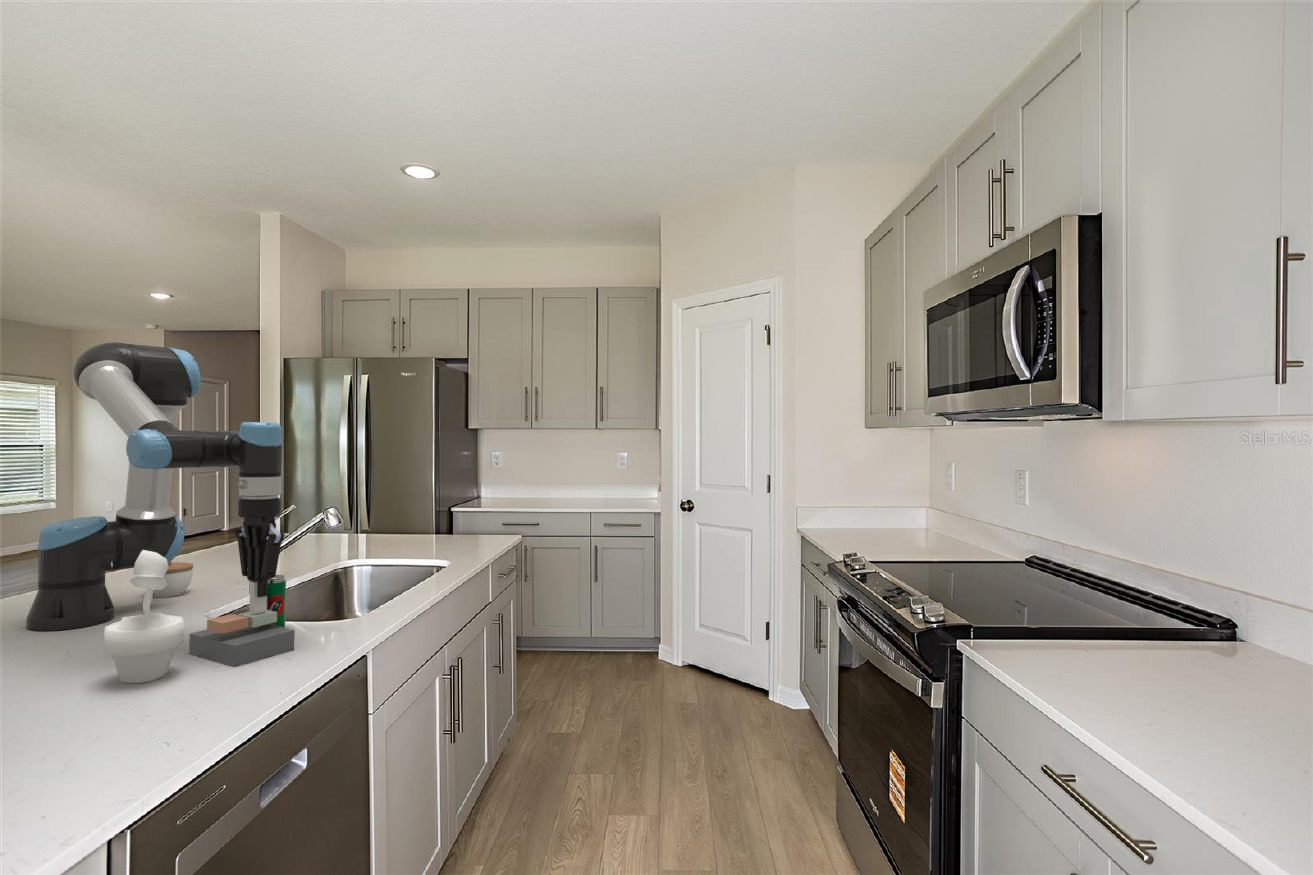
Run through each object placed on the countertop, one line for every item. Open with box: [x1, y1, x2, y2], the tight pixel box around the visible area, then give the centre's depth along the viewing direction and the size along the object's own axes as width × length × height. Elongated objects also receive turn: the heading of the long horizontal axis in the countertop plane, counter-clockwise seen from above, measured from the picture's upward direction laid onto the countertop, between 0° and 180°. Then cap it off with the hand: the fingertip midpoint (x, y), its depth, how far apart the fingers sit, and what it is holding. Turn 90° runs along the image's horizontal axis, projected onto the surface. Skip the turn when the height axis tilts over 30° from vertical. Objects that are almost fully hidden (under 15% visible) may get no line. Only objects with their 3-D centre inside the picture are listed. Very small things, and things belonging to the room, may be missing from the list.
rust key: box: [206, 613, 248, 634], centre depth 133 cm, size 5×5×2 cm
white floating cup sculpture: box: [103, 550, 185, 685], centre depth 120 cm, size 13×12×25 cm
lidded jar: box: [152, 561, 194, 598], centre depth 181 cm, size 11×11×9 cm
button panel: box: [188, 624, 296, 668], centre depth 136 cm, size 15×12×4 cm
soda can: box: [267, 574, 287, 628], centre depth 150 cm, size 5×5×12 cm
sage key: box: [237, 610, 277, 628], centre depth 138 cm, size 5×5×2 cm
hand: (258, 612), depth 138 cm, fingers closed
